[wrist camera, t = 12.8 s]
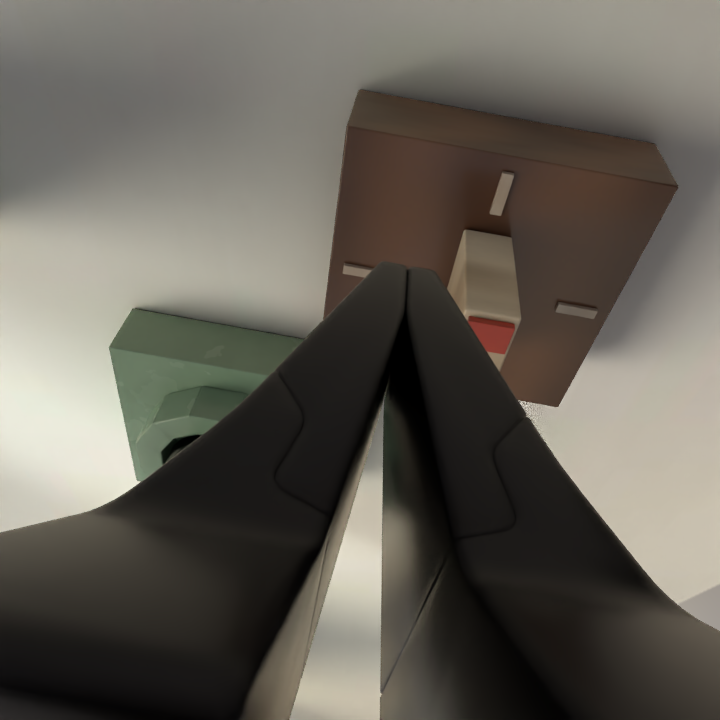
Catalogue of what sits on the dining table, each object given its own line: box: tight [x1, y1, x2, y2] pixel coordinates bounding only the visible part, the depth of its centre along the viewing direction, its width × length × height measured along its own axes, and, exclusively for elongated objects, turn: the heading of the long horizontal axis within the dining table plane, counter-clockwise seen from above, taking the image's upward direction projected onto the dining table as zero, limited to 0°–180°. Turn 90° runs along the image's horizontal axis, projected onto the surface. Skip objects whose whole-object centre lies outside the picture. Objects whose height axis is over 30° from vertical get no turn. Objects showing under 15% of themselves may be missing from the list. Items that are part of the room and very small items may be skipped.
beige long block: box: [447, 229, 521, 371], centre depth 20 cm, size 5×2×4 cm, turn 172°
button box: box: [109, 309, 304, 481], centre depth 30 cm, size 10×10×4 cm
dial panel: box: [323, 90, 678, 407], centre depth 22 cm, size 10×10×3 cm
